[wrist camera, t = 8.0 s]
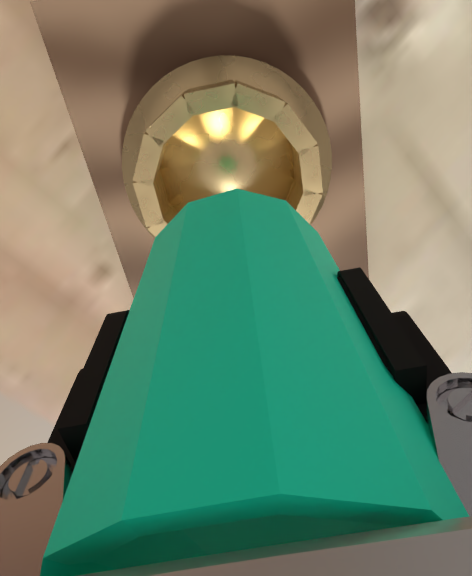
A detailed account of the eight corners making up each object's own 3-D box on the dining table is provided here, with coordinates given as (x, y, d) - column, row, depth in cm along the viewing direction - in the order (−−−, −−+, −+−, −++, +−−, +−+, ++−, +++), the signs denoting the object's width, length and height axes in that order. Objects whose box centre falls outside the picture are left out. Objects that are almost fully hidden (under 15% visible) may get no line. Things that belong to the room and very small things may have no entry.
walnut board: (40, 4, 23) (30, 2, 22) (343, -65, 22) (351, -72, 21) (147, 318, 33) (144, 330, 31) (362, 279, 32) (369, 289, 30)
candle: (274, 150, 13) (541, 597, 2) (355, 302, 15) (667, 857, 5) (109, 249, 14) (-225, 839, 3) (209, 375, 17) (194, 943, 6)
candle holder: (96, 81, 24) (74, 86, 20) (317, 33, 23) (335, 30, 19) (156, 275, 29) (148, 306, 26) (335, 242, 29) (352, 269, 25)
